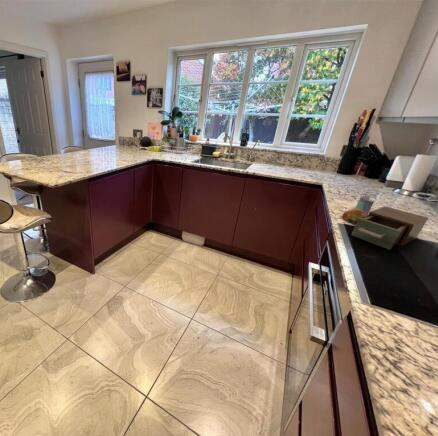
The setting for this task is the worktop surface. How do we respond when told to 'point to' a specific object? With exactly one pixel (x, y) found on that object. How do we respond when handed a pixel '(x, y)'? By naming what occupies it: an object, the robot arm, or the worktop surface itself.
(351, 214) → the bread roll
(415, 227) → the cabinet
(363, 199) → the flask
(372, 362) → the worktop surface
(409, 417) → the worktop surface
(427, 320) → the worktop surface
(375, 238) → the drawer
